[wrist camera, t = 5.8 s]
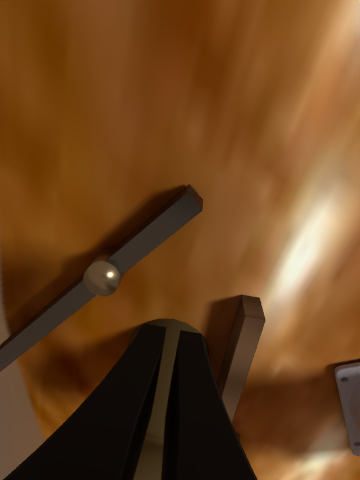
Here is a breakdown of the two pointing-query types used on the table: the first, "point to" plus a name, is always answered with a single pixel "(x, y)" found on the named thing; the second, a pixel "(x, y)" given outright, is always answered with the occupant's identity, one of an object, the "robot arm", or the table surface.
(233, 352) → the rail
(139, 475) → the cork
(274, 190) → the table surface
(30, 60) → the table surface
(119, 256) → the bar
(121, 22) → the table surface
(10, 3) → the table surface
